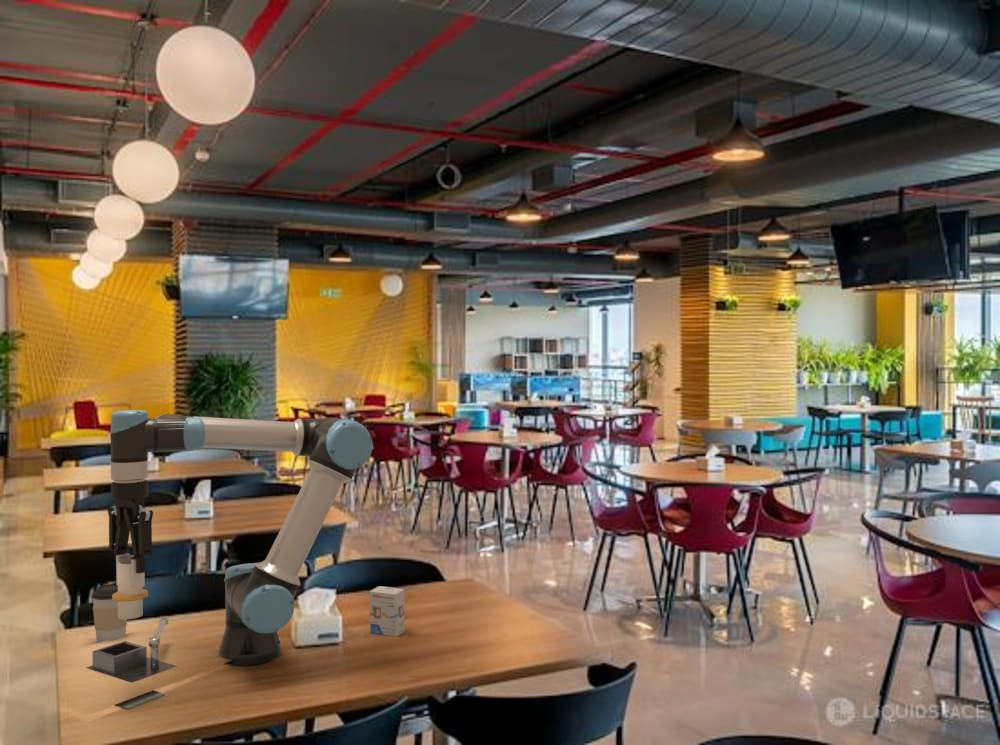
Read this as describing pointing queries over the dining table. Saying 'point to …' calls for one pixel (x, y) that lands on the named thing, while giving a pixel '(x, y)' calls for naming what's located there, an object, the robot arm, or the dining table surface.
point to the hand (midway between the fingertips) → (130, 585)
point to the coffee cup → (107, 614)
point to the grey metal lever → (158, 632)
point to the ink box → (387, 611)
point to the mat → (139, 700)
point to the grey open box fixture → (128, 661)
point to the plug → (128, 592)
